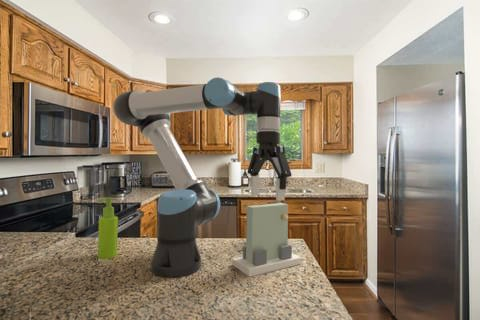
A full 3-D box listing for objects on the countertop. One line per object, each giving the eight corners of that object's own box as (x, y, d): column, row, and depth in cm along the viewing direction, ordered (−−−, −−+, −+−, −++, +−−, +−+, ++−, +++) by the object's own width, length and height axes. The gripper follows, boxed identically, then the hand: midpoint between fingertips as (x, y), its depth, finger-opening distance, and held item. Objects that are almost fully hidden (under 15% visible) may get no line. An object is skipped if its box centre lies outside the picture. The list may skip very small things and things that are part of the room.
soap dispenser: (91, 258, 89) (92, 198, 89) (108, 251, 96) (109, 196, 96) (104, 260, 87) (105, 199, 87) (120, 254, 93) (121, 197, 94)
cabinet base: (249, 276, 76) (249, 255, 76) (232, 265, 84) (232, 246, 85) (301, 263, 86) (301, 245, 86) (281, 254, 95) (281, 237, 95)
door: (254, 265, 79) (255, 208, 79) (245, 260, 83) (246, 206, 83) (290, 257, 86) (291, 205, 86) (280, 252, 90) (281, 203, 91)
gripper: (304, 128, 77) (303, 202, 77) (256, 135, 98) (255, 192, 98) (284, 126, 73) (282, 203, 73) (238, 134, 95) (237, 193, 94)
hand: (266, 197), depth 86 cm, fingers open, 13 cm apart
